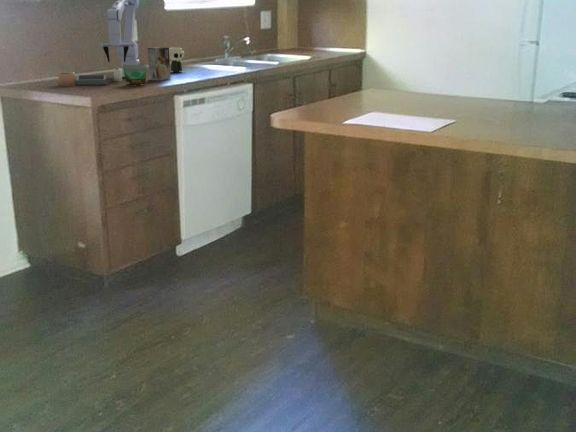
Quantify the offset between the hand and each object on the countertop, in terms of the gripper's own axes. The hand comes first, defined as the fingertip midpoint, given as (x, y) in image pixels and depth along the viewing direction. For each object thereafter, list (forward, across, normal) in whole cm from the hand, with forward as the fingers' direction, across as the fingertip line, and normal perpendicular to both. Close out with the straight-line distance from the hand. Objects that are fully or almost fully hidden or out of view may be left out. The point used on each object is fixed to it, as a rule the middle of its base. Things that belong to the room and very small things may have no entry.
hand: (116, 61), depth 369 cm
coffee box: (+10, +21, +2) cm, 23 cm away
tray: (+9, -13, -4) cm, 16 cm away
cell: (+9, 0, 0) cm, 9 cm away
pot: (+9, -24, -13) cm, 29 cm away
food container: (+10, +9, -18) cm, 22 cm away
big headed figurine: (+10, +32, +32) cm, 46 cm away
